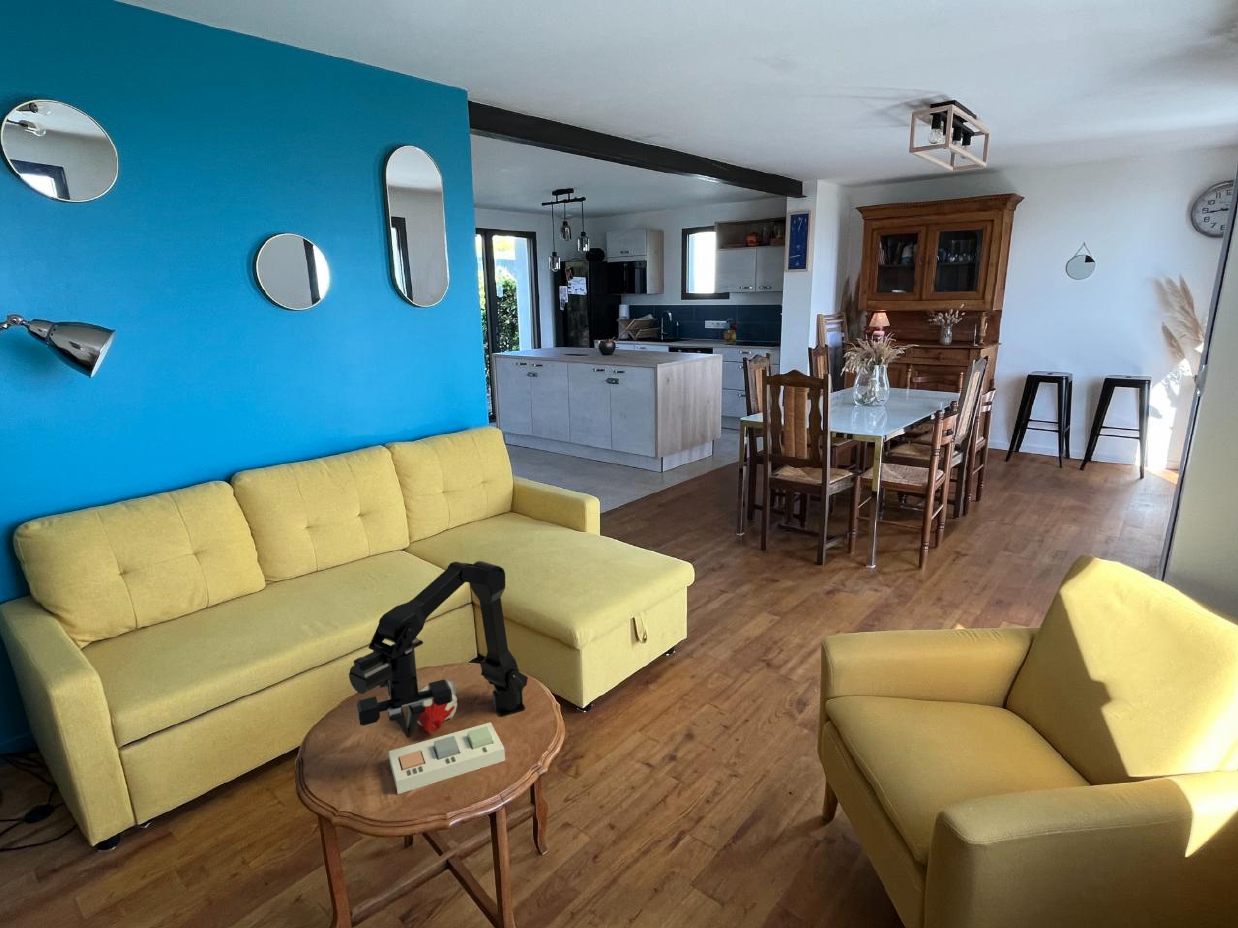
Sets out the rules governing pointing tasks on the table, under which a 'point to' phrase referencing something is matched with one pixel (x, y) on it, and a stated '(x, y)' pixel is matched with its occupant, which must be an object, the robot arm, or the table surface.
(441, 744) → the slate tile
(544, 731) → the table surface
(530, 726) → the table surface
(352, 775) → the table surface
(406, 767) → the terracotta tile
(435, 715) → the red irregular piece
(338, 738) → the table surface
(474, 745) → the sage tile
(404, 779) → the button board
